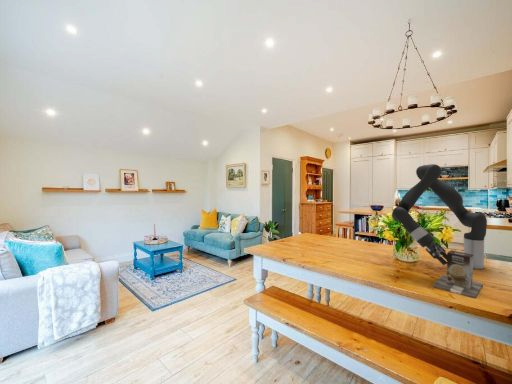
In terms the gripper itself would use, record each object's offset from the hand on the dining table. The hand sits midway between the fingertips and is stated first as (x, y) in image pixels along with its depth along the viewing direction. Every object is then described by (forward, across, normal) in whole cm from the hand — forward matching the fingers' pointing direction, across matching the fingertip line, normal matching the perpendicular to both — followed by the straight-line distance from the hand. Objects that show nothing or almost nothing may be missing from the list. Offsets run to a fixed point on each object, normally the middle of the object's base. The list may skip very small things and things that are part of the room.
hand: (447, 262), depth 122 cm
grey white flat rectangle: (+11, 0, +5) cm, 12 cm away
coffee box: (+11, 0, +4) cm, 11 cm away
